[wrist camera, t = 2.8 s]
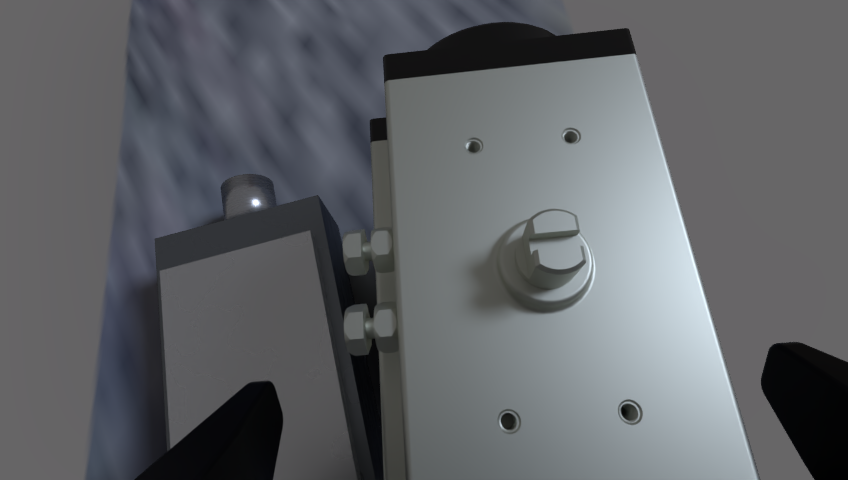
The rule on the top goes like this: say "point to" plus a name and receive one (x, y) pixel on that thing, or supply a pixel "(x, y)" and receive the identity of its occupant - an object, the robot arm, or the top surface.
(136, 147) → the top surface
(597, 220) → the pneumatic valve
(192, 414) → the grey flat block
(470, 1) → the top surface
